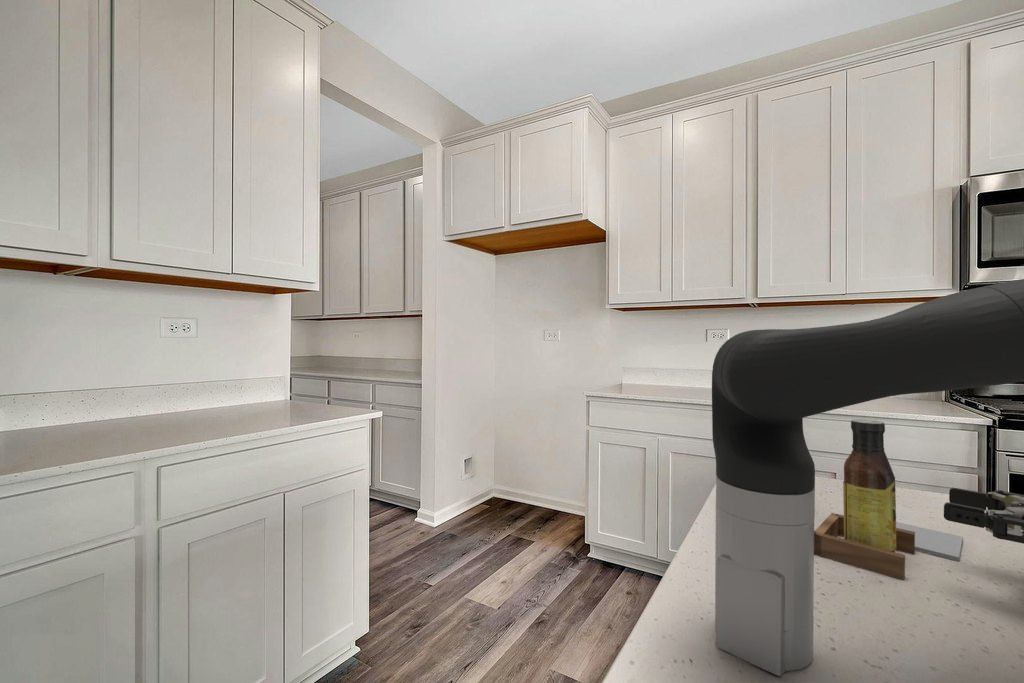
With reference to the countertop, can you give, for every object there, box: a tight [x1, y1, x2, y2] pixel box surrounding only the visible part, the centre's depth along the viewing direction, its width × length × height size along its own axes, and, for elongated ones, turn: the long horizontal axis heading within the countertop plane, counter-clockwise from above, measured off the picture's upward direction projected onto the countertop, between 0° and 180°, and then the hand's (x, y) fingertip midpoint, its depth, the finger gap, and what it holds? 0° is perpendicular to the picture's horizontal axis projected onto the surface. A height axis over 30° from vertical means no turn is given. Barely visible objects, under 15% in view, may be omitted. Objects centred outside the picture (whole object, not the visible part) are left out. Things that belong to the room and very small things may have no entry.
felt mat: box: [896, 521, 964, 562], centre depth 75 cm, size 10×9×1 cm
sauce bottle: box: [842, 418, 897, 552], centre depth 70 cm, size 7×6×20 cm
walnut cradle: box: [814, 512, 916, 581], centre depth 71 cm, size 12×11×3 cm
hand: (946, 502), depth 64 cm, fingers open, 8 cm apart
